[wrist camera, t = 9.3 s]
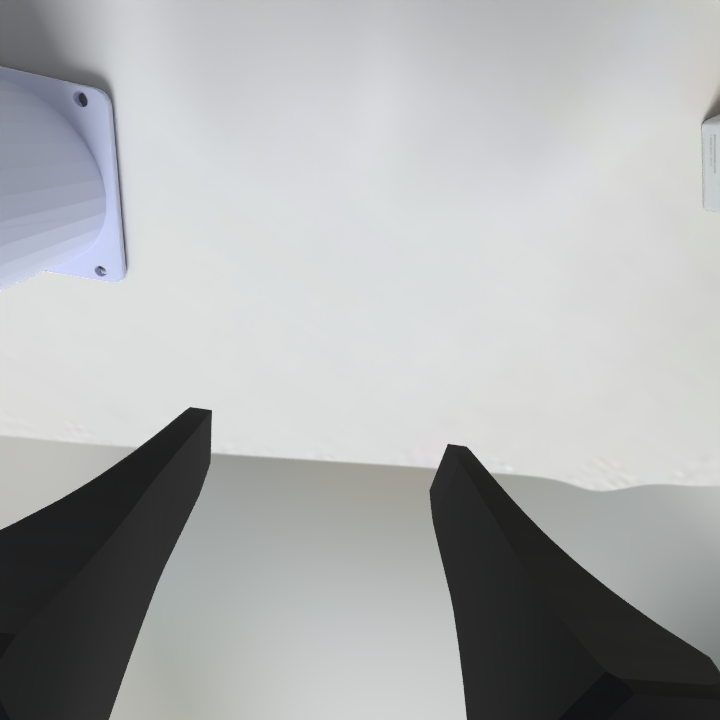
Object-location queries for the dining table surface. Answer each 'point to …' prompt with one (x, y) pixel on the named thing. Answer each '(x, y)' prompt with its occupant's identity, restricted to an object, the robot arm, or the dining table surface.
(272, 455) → the dining table surface
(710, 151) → the skincare box
